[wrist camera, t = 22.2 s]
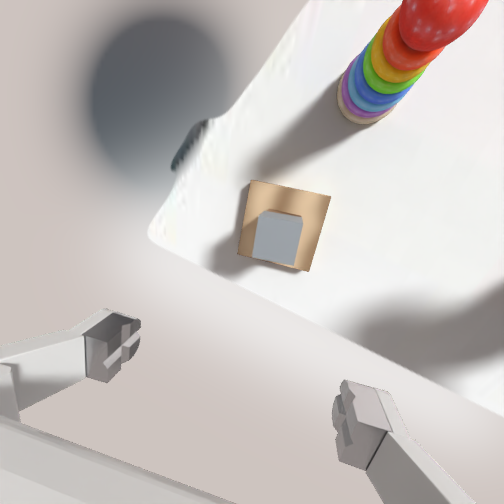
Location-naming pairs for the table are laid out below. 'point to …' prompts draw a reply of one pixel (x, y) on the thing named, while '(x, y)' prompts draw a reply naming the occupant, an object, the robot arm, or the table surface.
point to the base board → (288, 201)
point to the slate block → (277, 237)
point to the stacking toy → (401, 55)
